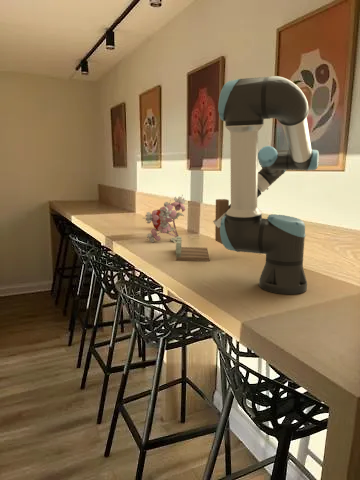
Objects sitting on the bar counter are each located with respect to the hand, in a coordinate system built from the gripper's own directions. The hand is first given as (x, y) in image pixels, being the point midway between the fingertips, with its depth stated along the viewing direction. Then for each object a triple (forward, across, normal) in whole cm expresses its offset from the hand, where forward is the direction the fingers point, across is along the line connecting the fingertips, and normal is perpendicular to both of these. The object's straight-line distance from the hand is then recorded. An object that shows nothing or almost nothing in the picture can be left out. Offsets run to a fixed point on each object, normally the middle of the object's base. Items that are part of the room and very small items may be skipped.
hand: (215, 224), depth 162 cm
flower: (+27, +34, +7) cm, 44 cm away
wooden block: (+3, -2, -8) cm, 8 cm away
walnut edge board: (+17, +4, -3) cm, 18 cm away
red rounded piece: (+30, +70, +11) cm, 77 cm away
